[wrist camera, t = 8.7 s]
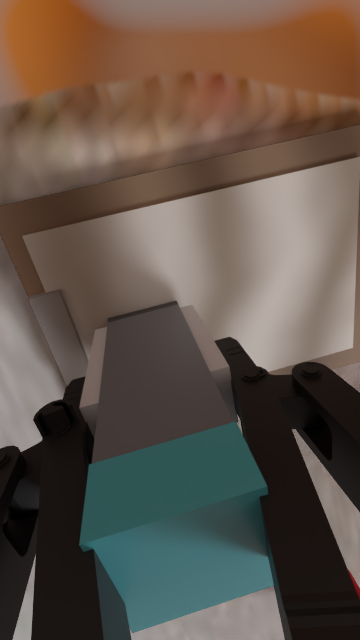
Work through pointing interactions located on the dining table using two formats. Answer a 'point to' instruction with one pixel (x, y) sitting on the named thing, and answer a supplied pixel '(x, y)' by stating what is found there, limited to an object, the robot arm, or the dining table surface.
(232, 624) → the dining table surface
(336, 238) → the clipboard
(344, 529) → the dining table surface
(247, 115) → the dining table surface
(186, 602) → the teal and grey block
